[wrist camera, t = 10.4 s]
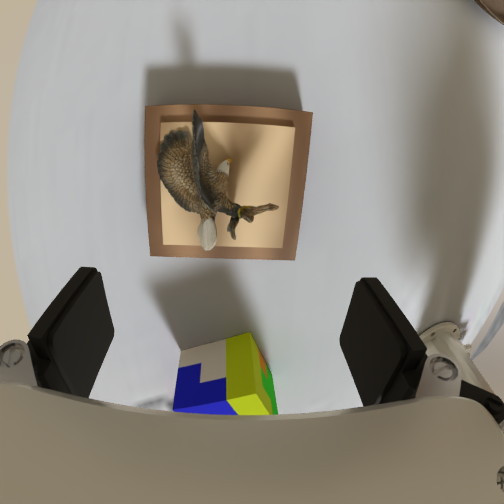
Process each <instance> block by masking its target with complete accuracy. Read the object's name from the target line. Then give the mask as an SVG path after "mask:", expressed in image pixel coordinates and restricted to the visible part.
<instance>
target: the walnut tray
mask: <svg viewBox="0 0 504 504" xmlns="http://www.w3.org/2000/svg"><path fill="white" fill-rule="evenodd" d="M193 110H196V112H197V113H198V115H199V117H200V118H201V120H202V123H203V128H204V138H205V142H206V144H207V147H208V150H209V156H210V161H211V164H212V167H213V169H214V170H215V171H216V170H217V168H218V166H219V165H220V164H221V163H222V162H223V161H225V160H227V159H231V160H232V162H231V163H230V167H229V178H228V179H229V182H228V188H227V190H226V195H227V197H228V199H229V200H230V201H231V202H232V203H237V204H239V205H240V206H254V207H258V206H260V205H266V204H269V203H271V204H275V205H277V206H279V208H278V209H277V210H274V211H265V212H263V213H260V214H257V215H254V221H253V222H252V223H249V222H247V221H246V220H244V219H243V218H241V219H239V223H238V225H237V226H236V228H235V235H236V240H234V239H232V237H231V235H230V232H227V227H228V224H229V223H230V219H231V217H232V216H229V215H226V214H225V213H222V212H218V211H217V214H216V216H215V225H216V229H217V240H216V244H215V245H214V247H213V248H212V249H211V250H205V249H204V248H203V247H202V246H201V242H200V240H199V238H198V235H197V229H198V227H199V224H200V222H201V217H200V214H197V213H196V212H195V213H194V212H188V211H185V210H184V208H181V207H180V206H179V205H178V204H177V203H176V202H175V200H174V198H173V197H172V196H171V195H170V193H169V192H168V189H166V188H165V186H164V185H163V182H162V181H161V180H160V176H159V174H158V169H157V160H158V159H159V158H158V153H161V150H160V144H161V143H162V142H164V137H165V135H169V133H170V132H171V131H174V132H175V133H176V132H177V131H178V130H181V131H182V132H184V131H188V132H189V135H190V139H191V143H192V140H193V132H192V127H193V125H192V114H193ZM312 116H313V112H306V111H298V110H289V109H280V108H269V107H256V106H239V105H207V104H189V105H157V106H146V107H145V181H146V204H147V220H148V234H149V246H150V256H164V257H195V258H228V259H263V260H295V256H296V249H297V242H298V235H299V228H300V221H301V213H302V205H303V198H304V190H305V181H306V173H307V164H308V155H309V146H310V136H311V126H312Z"/></svg>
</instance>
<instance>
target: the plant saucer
mask: <svg viewBox="0 0 504 504" xmlns="http://www.w3.org/2000/svg"><path fill="white" fill-rule="evenodd" d="M474 1H475V2H476V3H477V4H478V5H479V6H480V7H481V8H482V9H484V10H485V11H486V12H487V13H488V14H489V15H491V16H492V17H493V18H494V19H496V20H497V21H499V22H500V23H501V24H503V25H504V0H474Z"/></svg>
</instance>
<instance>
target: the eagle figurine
mask: <svg viewBox="0 0 504 504" xmlns="http://www.w3.org/2000/svg"><path fill="white" fill-rule="evenodd" d="M192 125H193V127H192V132H193V140H192V143H191V139H190V135H189V132H188V131H184V132H182V131H181V130H178V131H177V132H176V133H175V132H174V131H171V132H170V133H169V135H165V137H164V142H162V143H161V144H160V150H161V153H158V158H159V159H158V160H157V169H158V174H159V176H160V180H161V181H162V182H163V185H164V186H165V188H166V189H168V192H169V193H170V195H171V196H172V197H173V198H174V200H175V202H176V203H177V204H178V205H179V206H180V207H181V208H184V210H185V211H188V212H194V213H195V212H196V213H197V214H200V217H201V222H200V224H199V227H198V229H197V235H198V238H199V240H200V242H201V246H202V247H203V248H204V249H205V250H211V249H212V248H213V247H214V245H215V244H216V240H217V229H216V225H215V216H216V214H217V211H218V212H222V213H225V214H226V215H229V216H232V217H231V219H230V223H229V224H228V227H227V232H230V235H231V237H232V239H234V240H236V235H235V228H236V226H237V225H238V223H239V219H241V218H243V219H244V220H246V221H247V222H249V223H252V222H253V221H254V215H257V214H260V213H263V212H265V211H274V210H277V209H278V208H279V206H277V205H275V204H271V203H269V204H266V205H260V206H258V207H254V206H240V205H239V204H237V203H232V202H231V201H230V200H229V199H228V197H227V195H226V190H227V188H228V182H229V179H228V178H229V167H230V163H231V162H232V160H231V159H227V160H225V161H223V162H222V163H221V164H220V165H219V166H218V168H217V170H216V171H215V170H214V169H213V167H212V164H211V161H210V156H209V150H208V147H207V144H206V142H205V138H204V128H203V123H202V120H201V118H200V117H199V115H198V113H197V112H196V110H193V114H192Z"/></svg>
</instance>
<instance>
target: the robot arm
mask: <svg viewBox="0 0 504 504" xmlns="http://www.w3.org/2000/svg"><path fill="white" fill-rule="evenodd" d="M27 336H28V338H29V341H28V343H27V344H26V343H25V342H24V341H21V340H11V341H8V342H6V343H4V344H3V345H1V346H0V504H504V403H503V401H502V400H501V399H500V398H499V397H498V396H496V395H495V394H494V392H493V391H492V389H491V388H490V386H489V385H488V383H487V382H486V380H485V379H484V377H483V376H482V374H481V373H480V371H479V370H478V368H477V367H476V366H475V364H474V363H473V361H472V360H471V358H470V353H469V352H468V351H470V350H471V345H470V344H466V345H463V344H462V343H461V341H460V340H459V339H460V330H459V328H458V327H457V326H456V325H455V324H454V323H452V322H443V323H440V324H437V325H435V326H433V327H431V328H429V329H428V330H426V331H425V332H423V333H422V334H421V335H420V336H419V335H418V334H417V332H416V331H415V329H414V328H413V327H412V325H411V324H410V322H409V321H408V319H407V318H406V317H405V315H404V314H403V312H402V311H401V309H400V308H399V307H398V305H397V304H396V303H395V301H394V300H393V298H392V297H391V296H390V294H389V293H388V292H387V290H386V289H385V288H384V286H383V285H382V284H381V282H380V281H379V280H378V279H377V278H361V280H360V281H358V282H356V284H355V288H354V291H353V295H352V298H351V302H350V305H349V309H348V312H347V315H346V319H345V322H344V325H343V328H342V332H341V335H340V346H341V349H342V351H343V354H344V356H345V359H346V361H347V364H348V366H349V369H350V372H351V374H352V377H353V379H354V382H355V385H356V387H357V390H358V393H359V395H360V398H361V401H362V403H363V406H364V407H357V408H350V409H342V410H334V411H324V412H313V413H300V414H281V415H215V414H197V413H183V412H173V411H163V410H154V409H146V408H139V407H132V406H126V405H120V404H114V403H109V402H104V401H99V400H94V399H89V395H90V392H91V390H92V387H93V385H94V382H95V380H96V377H97V375H98V372H99V370H100V368H101V365H102V363H103V360H104V358H105V356H106V353H107V351H108V349H109V346H110V344H111V342H112V340H113V337H114V327H113V323H112V319H111V315H110V311H109V307H108V303H107V299H106V294H105V290H104V285H103V280H102V276H101V273H100V272H97V269H96V268H93V267H80V268H79V270H78V271H77V272H76V273H75V274H74V275H73V277H72V278H71V279H70V280H69V281H68V283H67V284H66V285H65V286H64V288H63V289H62V290H61V291H60V293H59V294H58V295H57V296H56V298H55V299H54V300H53V301H52V303H51V304H50V305H49V307H48V308H47V309H46V311H45V312H44V313H43V315H42V316H41V317H40V319H39V320H38V321H37V323H36V324H35V326H34V327H33V328H32V330H31V331H30V333H29V334H28V335H27Z"/></svg>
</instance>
